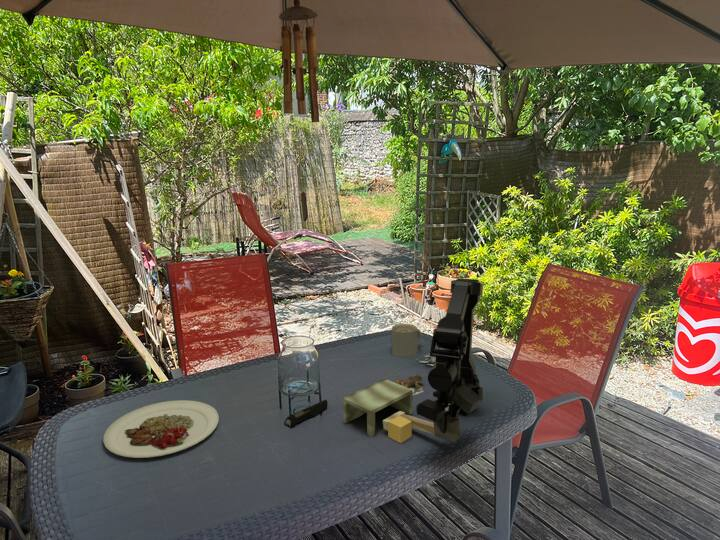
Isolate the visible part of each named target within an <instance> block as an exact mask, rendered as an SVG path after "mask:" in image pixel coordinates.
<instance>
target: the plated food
mask: <svg viewBox="0 0 720 540" xmlns="http://www.w3.org/2000/svg"><path fill="white" fill-rule="evenodd" d="M219 419H220V416H219V414H218V411H217V410H216V408H214V406H211V405H209V404H207V403H206V402H205V403H204V402H202V401H197V400H186V399H184V400H183V399H182V400H181V399H179V400H169V401H168V400H167V401H161V402H156V403H152V404H148V405H144V406H143V407H142V406H141V407H139V408H136V409H134V410H132V411H129V412H128V413H125V414H123V415H122V416H121V417H119V418H117V419H116V420H115V421H114V422H112V423H111V424H110V425H109V426H108V427H107V429H106V430H105V432H104V434H103V440H102V441H103V444H104V447H105V448H106V449H107V450H108V451H109V452H110V453H113V454H114V455H117V456H121V457H125V458H131V459H132V458H135V459H144V458H147V459H148V458H154V457H162V456H166V455H170V454H174V453H177V452H180V451H184V450H186V449H188V448H191V447H192V446H195V445H197V444H199V443H200V442H201V441H203V440H205V439H206V438H208V437H209V436H210V435H211V434H212V433H213V432H214V431H215V429H217V426H218V425H219Z"/></svg>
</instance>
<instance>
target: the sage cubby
mask: <svg viewBox="0 0 720 540" xmlns="http://www.w3.org/2000/svg"><path fill="white" fill-rule="evenodd" d="M413 394H414V392H413V390H412V389H409V388H407V387H404V386H402V384H401V385H399V384H397V383H396V382H394V381H391V380H389V379H386V378H383V379H381V380H378V381H377V382H375V383H373V384H371V385H369V386H365V387H364V388H361V389H359V390H357V391H355V392H353V393H351V394H349V395H346V396H344V397H342V413H343V414H342V415H343V416H342V417H343V419H342V421H343V423H344V424H348V423H349V421H350V422H351V421H354V420H355V419H357V418H359V417H361V416H363V415H365V414H366V426H367V427H366V428H367V429H366V432H367V433H366V435H368V436H369V437H373V436H375V435H376V413H377V412H379V411H381V410H383V409H384V408H387V407H388V406H390V407H393V408H394V409H397V410H399V411H402V412H405V414H407V415H412V414H413V396H414V395H413ZM358 416H359V417H358ZM347 422H348V423H347Z"/></svg>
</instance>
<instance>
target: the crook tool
mask: <svg viewBox="0 0 720 540" xmlns="http://www.w3.org/2000/svg"><path fill="white" fill-rule="evenodd" d="M397 416H401V417H403V418H406V419H408V420H410V421H412V429H413V428H414V429H416V430H419V431H422V432H425V433H429V434H432V435H434V437H437V438H440V439H444V440H447V441H449V442H452V443H455V442H456V441H457V440H459V439H461V437H462V435H461V433H462V432H461V424H460V419H459V418H458V417H457V418H454V417H451V416H448V418H447V426H446V432H445V434H443V433H441V431H440V429H439V427H438V425H437V423H436V421H428V420H425V419H422V418H419V417H415V416H413V415H410V414H407V413H406V412H403V411H401V410H399V411H397V412H395V413H393V414H391V415H390V416H388V417H386V418H385V419H383V420H382V426H383V430H385V431H388V421H390V420H392V419H394V418H396V417H397Z"/></svg>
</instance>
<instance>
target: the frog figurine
mask: <svg viewBox="0 0 720 540" xmlns="http://www.w3.org/2000/svg"><path fill="white" fill-rule="evenodd" d="M423 379H424V377H423V375H420V374H415V375H414V376H409V377H407V378H406V380H404V379H401V378H399V379H396V381H395V383H397V384H399V385H402V386H404V387H407V388H409V389H412V390H413V396H417V395H420V394H422V393H424V390H423V389H424V388H423V386H421V385H420V384H419V383H420V382H423ZM415 390H417V392H415Z"/></svg>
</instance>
